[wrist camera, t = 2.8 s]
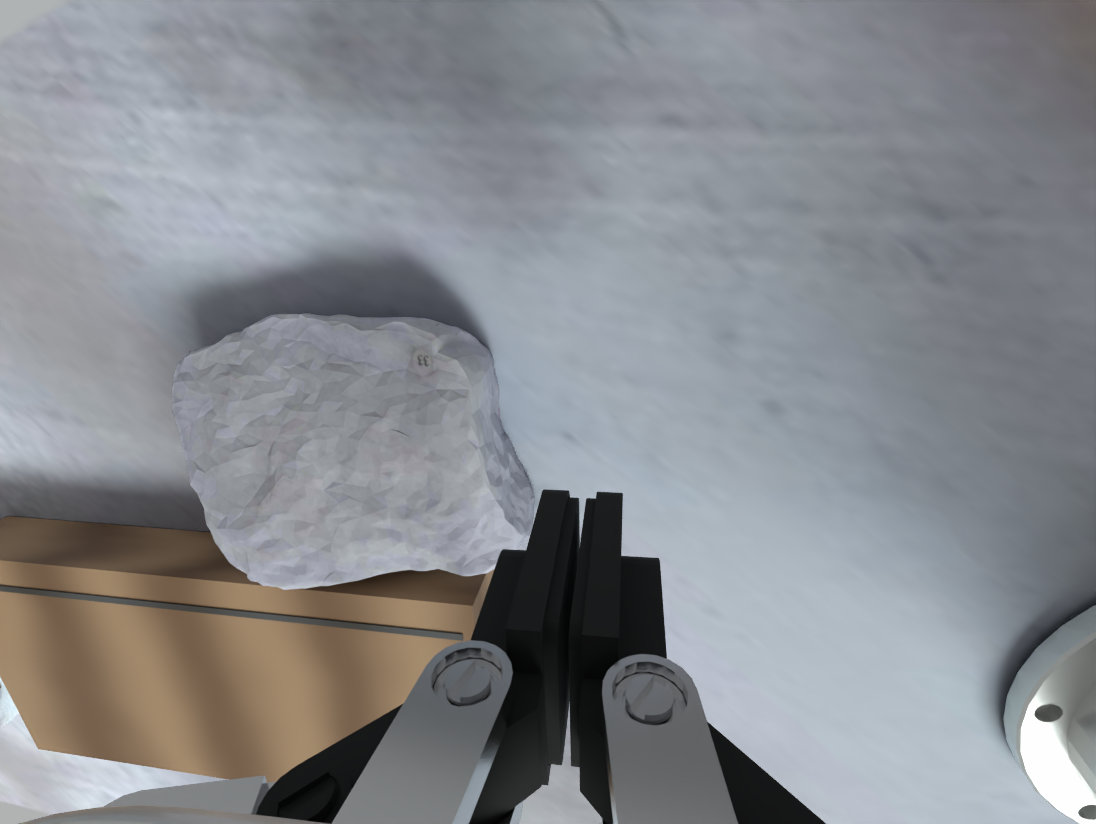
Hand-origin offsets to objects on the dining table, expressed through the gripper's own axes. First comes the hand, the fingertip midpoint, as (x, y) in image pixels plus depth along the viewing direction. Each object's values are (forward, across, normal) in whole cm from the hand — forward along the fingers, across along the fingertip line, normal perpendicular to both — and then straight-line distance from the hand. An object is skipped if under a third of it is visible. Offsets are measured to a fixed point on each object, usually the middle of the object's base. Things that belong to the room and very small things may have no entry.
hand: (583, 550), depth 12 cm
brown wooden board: (+9, +16, +13) cm, 23 cm away
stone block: (+10, +9, +2) cm, 13 cm away
